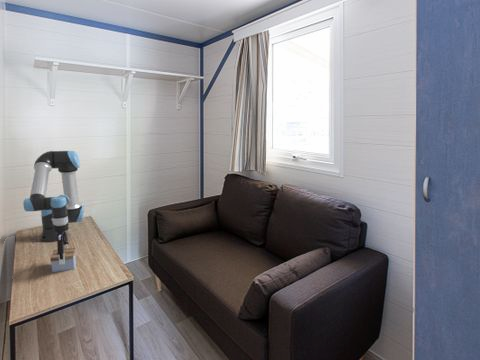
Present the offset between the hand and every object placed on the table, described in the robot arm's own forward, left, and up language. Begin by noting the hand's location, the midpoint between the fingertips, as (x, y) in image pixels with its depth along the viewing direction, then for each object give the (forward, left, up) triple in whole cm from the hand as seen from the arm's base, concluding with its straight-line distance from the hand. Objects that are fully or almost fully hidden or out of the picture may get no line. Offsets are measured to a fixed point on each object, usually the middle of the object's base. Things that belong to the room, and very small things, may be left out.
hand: (63, 259), depth 173 cm
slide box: (0, 0, -5) cm, 5 cm away
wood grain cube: (0, 0, +1) cm, 1 cm away
